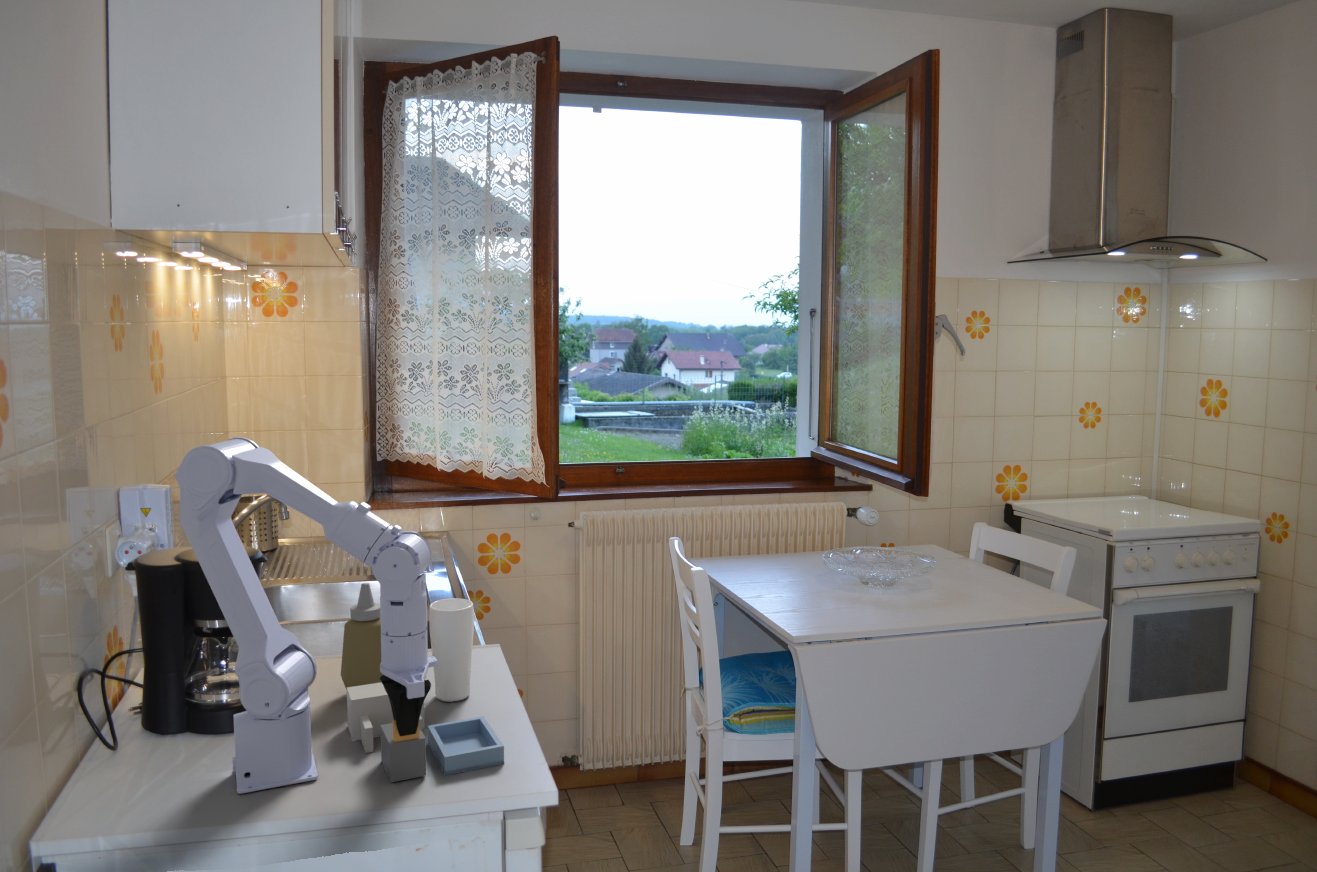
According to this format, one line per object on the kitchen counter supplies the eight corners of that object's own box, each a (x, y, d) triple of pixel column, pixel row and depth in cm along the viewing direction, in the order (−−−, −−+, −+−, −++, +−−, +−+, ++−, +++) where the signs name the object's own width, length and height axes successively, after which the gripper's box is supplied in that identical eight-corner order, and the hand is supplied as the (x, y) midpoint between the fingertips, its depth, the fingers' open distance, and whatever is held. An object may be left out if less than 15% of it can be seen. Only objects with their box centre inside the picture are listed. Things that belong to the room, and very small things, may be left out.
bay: (357, 754, 127) (355, 712, 126) (347, 727, 135) (346, 687, 134) (430, 741, 131) (430, 700, 130) (417, 715, 139) (416, 676, 139)
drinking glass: (464, 706, 143) (463, 612, 141) (423, 702, 144) (421, 608, 142) (481, 690, 149) (480, 599, 147) (441, 686, 151) (440, 596, 149)
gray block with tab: (381, 760, 125) (380, 706, 124) (415, 754, 127) (414, 701, 126) (390, 782, 118) (389, 725, 118) (426, 775, 120) (424, 719, 120)
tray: (445, 775, 121) (444, 757, 121) (428, 742, 130) (427, 725, 130) (504, 763, 124) (503, 745, 124) (483, 732, 134) (483, 716, 133)
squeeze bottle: (365, 709, 141) (362, 594, 139) (330, 697, 145) (326, 585, 143) (405, 691, 148) (403, 582, 146) (370, 681, 152) (368, 574, 150)
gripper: (448, 642, 113) (450, 748, 115) (424, 609, 126) (425, 705, 128) (389, 651, 110) (391, 759, 112) (370, 616, 123) (372, 713, 125)
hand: (406, 731), depth 120 cm, fingers closed on gray block with tab
